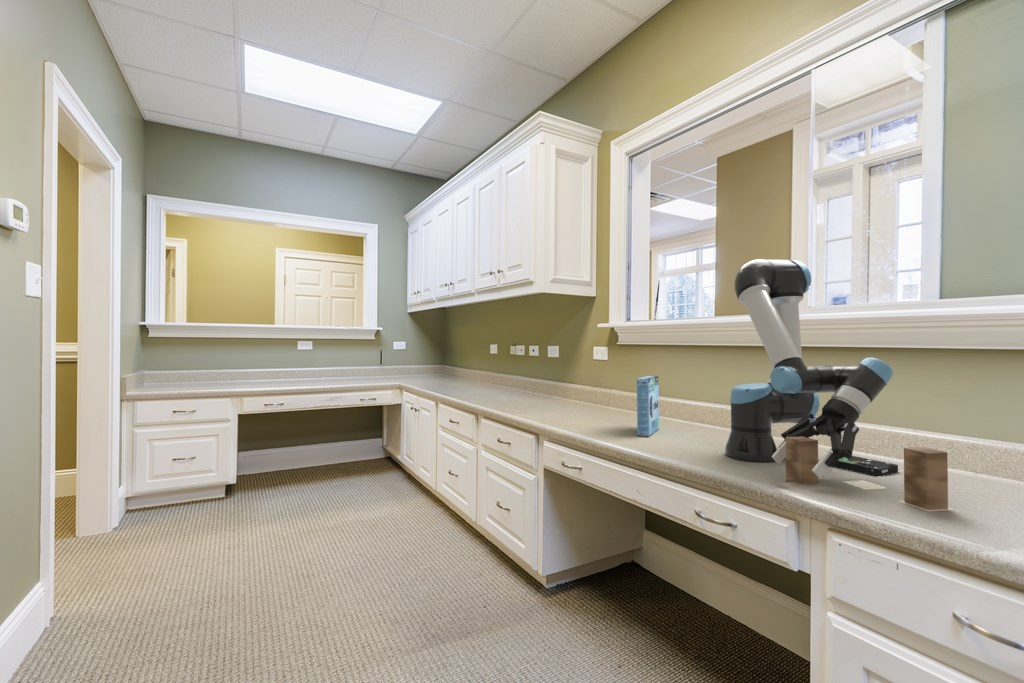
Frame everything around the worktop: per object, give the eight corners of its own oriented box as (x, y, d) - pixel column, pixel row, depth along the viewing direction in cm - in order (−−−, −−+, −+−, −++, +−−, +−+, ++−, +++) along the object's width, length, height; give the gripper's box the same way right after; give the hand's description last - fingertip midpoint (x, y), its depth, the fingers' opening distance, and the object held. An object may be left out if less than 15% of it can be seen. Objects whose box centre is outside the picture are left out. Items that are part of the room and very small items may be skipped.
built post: (904, 501, 101) (903, 447, 101) (923, 500, 102) (922, 447, 102) (928, 510, 96) (927, 453, 96) (948, 508, 97) (947, 452, 97)
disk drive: (898, 474, 129) (841, 461, 142) (898, 464, 129) (841, 452, 142) (879, 479, 124) (822, 466, 137) (879, 469, 124) (822, 456, 137)
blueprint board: (818, 483, 118) (818, 478, 118) (889, 483, 118) (889, 478, 118) (890, 517, 95) (890, 511, 95) (978, 517, 95) (978, 511, 95)
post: (786, 482, 120) (785, 437, 120) (802, 481, 120) (802, 436, 120) (800, 488, 115) (800, 441, 115) (818, 487, 115) (817, 440, 115)
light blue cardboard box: (649, 437, 178) (648, 379, 178) (636, 436, 181) (635, 378, 181) (659, 429, 195) (659, 375, 195) (647, 428, 198) (647, 375, 198)
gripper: (901, 425, 108) (846, 492, 105) (815, 410, 132) (769, 464, 130) (881, 403, 107) (826, 470, 104) (798, 392, 131) (752, 446, 129)
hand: (794, 467), depth 117 cm, fingers open, 13 cm apart
